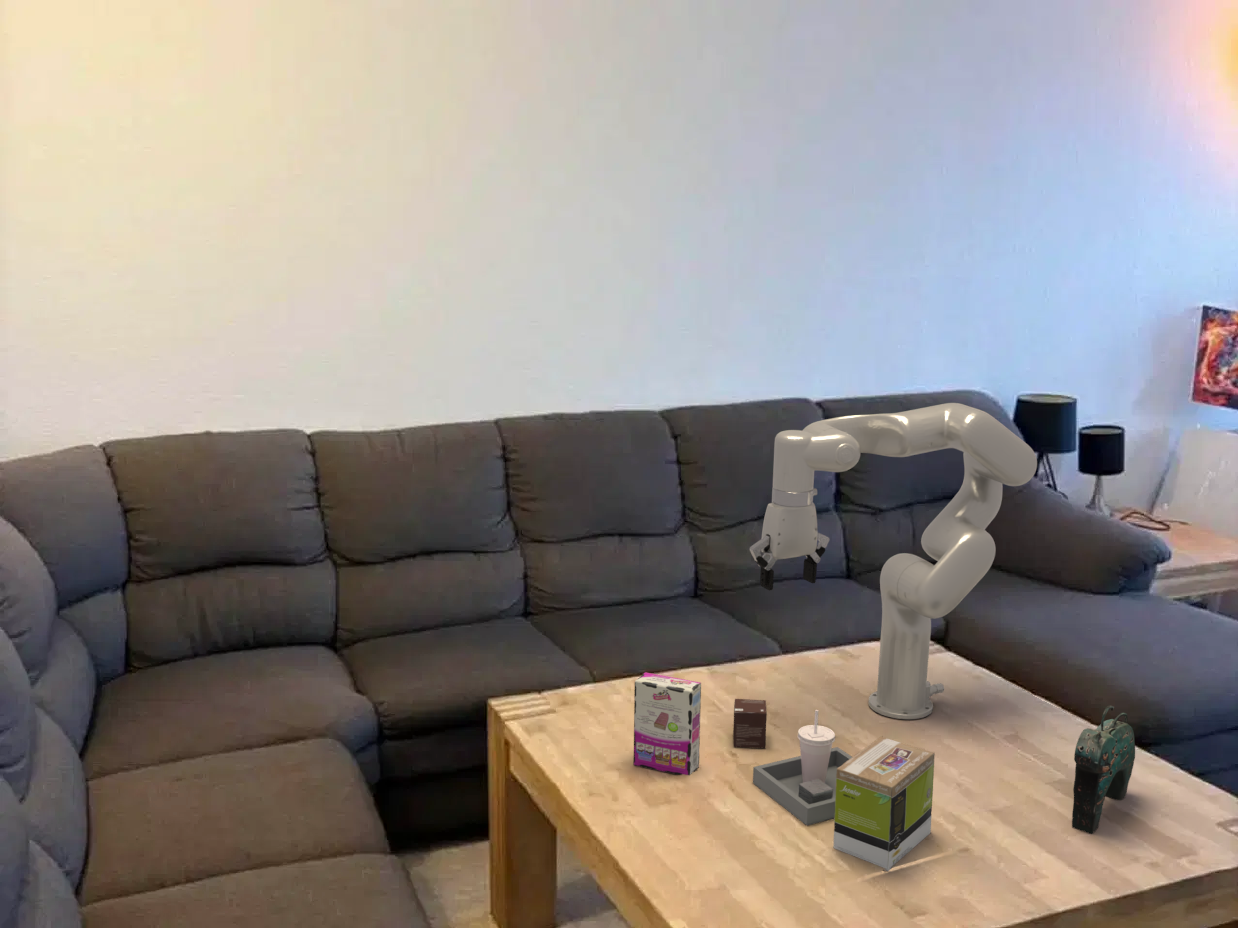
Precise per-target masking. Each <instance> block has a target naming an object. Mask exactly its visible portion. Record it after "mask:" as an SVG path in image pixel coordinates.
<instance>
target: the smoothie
mask: <svg viewBox="0 0 1238 928" xmlns="http://www.w3.org/2000/svg"><path fill="white" fill-rule="evenodd" d="M818 722H819V709H815V710H814V722H813V723H814V724H810V725H809V724H807V725H804V726H801V727H800V728H799V729H797V739H798V740H799V749H800V750H799V751H800V756H801V765H802V778H803V783H804V782H808V781H812V780H816V779H820V780H821V781H822V782H824V783H825V779H826V774H827V768H828V763H829V758H830V753H831V748H833V743H835V741H836V734H835V731H834V730H832V729H831V728H830V727H827V726H825V725H824V726H823V725H818V724H819V723H818Z"/></svg>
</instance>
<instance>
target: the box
mask: <svg viewBox="0 0 1238 928" xmlns="http://www.w3.org/2000/svg"><path fill="white" fill-rule="evenodd" d="M733 706H734V707H733V728H732V729H733V731H732V734H733V735H732V736H733V748H749V749H763V750H764V749H766V743H767V740H766V739H767V715H768V714H767V700H766V699H745V698H734V703H733Z"/></svg>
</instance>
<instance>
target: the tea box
mask: <svg viewBox="0 0 1238 928" xmlns="http://www.w3.org/2000/svg"><path fill="white" fill-rule="evenodd" d="M935 757H936V754H935V752H933V751H929V750H928V749H927V750H926V749H924V748H919V747H916V746H912V745H909V744H906V743H904V742H900V741H897V740H893V739H889V738H886V737H884V736H880V737H878V738H877V739H876V740H874V741H872V742H870V743H869V745H866V747H865V748H863V749H862V750H860V751H859V752H858V753H856V754H855V755H854V756H852V758H851V759H849V760H848V761H846V762H845V763H844V764H843V765H842V766H840V767H838V768H837V773H836V795H835V818H833V819H834V820H833V821H834V822H833V823H834V824H833V826H834V827H833V847H832V848H833V849H835V850H837V851H841V852H843V853H845V854H848V855H850V856H853V857H856V858H858V859H860V860H863V861H865V862H867V863H871V864H874V865H875V866H878V867H880V868H883V871H885V872H889V871H890V870H891V869H892V868H893V866H894V865H896V863H897V862H898V861H900V860H901V859H903V858H904V857H905V856H906V855H907V854H908V853H909V852H910V851H912V850H913V848H915V847H916V846H917V845H919V844H920V843H921V842H922V841H923V840H924V839H926V837H928V836H929V835H930V834H931V831H932V810H933V794H934V775H935Z"/></svg>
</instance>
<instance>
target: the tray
mask: <svg viewBox="0 0 1238 928" xmlns="http://www.w3.org/2000/svg"><path fill="white" fill-rule="evenodd" d="M852 757H853V756H852V755H851V754H849V753H847V752H845V751H844V750H842V749H841V748H840V747H839V746H835V747H832V748H831V753H830V758H829V763H828V768H827V774H826V779H825V784H826V785H828V786H829V787H831V788H832V789H833V798H832V799H828V800H824V801H821V802H817V803H813V804H808V803H806V802H805V801H804V800H802V799H801V798H800V797H799V796H798V795H799V784H800V783H803V778H802V765H801V755H797V756H795V757H790V758H785V759H781V760H777V761H773V762H772V761H771V762H769V763H765V764H760V765H756V766H753V768H752V769H753V771H752V784H753V785H755V786H756V787H757V788H758V789H759V790H761V791H762V792H764V793H765V794H766V795H767V796H768V797H770V798H771V799H772V800H773V801H775V802H776V803H778V805H780V806H781V807H782V808H783V809H785V810H787V811H788V813H790V814H791V815H793V816H794V817H795V818H796V819H798V820H799V821H800V822H801V823H803V824H804V825H805V826H810V825H814V824H818V823H821V822H824V821H825V822H826V821H828V820H829V821H830V820H833V819H834V818H835V795H836V773H837V768H838V767H840V766H842V765H843V764H844V763H845V762H846V761H848V760H849V759H851V758H852Z"/></svg>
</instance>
